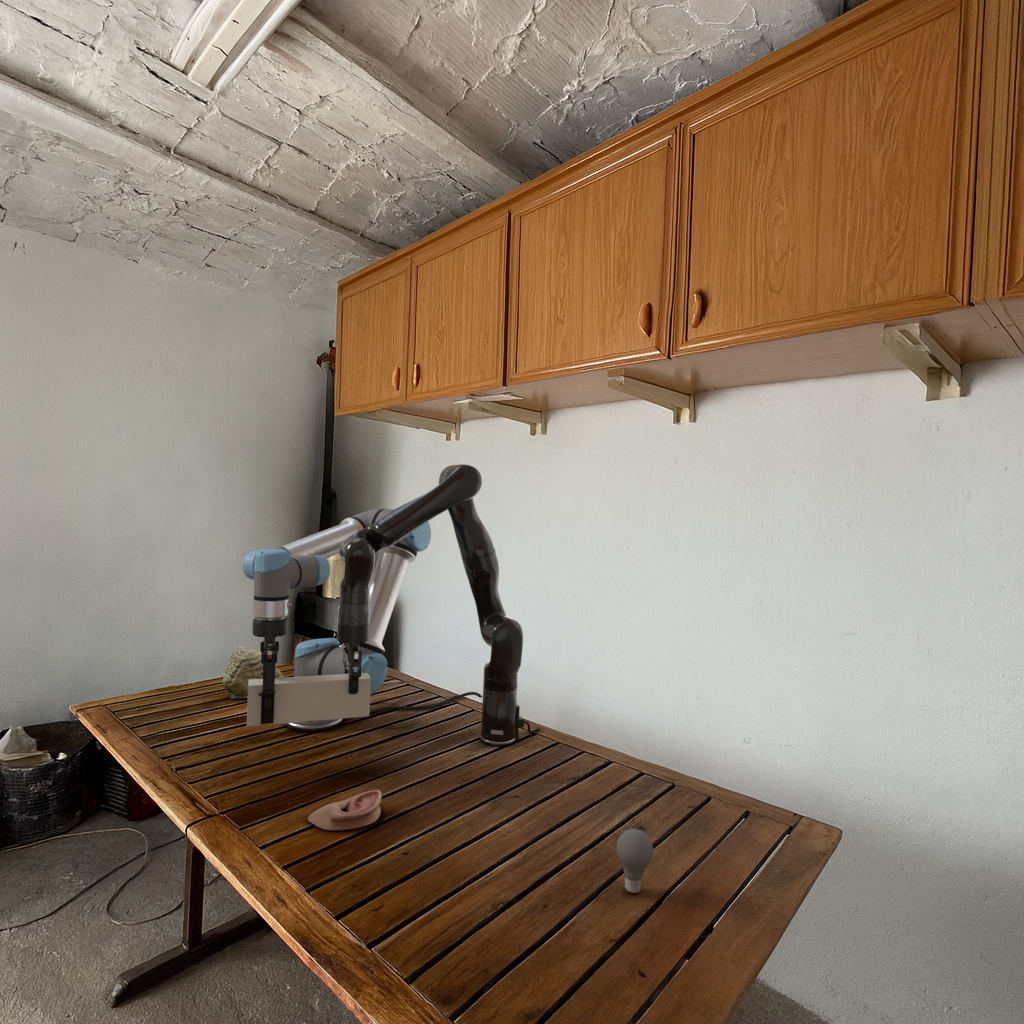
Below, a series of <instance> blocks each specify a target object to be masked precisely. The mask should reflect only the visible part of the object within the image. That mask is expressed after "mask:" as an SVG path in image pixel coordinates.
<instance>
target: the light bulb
mask: <svg viewBox="0 0 1024 1024" xmlns="http://www.w3.org/2000/svg"><path fill="white" fill-rule="evenodd" d="M615 849H616V854H617V857H618V859H619V861H620V863H621V865H622V867H623V873H624V874H623V875H624V876H625V878H624V888H625V890H627V891H628V892H630V893H634V894H635V893H639V892H640V891H641V889H642V887H641V886H642V879H643V877H644V875H645V871H646V868H647V867H648V866H649V864H650V863H651V861H652V859H653V855H654V847H653V843H652V841H651V838H649V836H648V835H647V834H646V833H645V832H643V831H642V830H641V829H636V828H629V829H627V830H625V831H623V832H622V833H621V834H620V835H619V837H618V839H617V841H616V847H615Z"/></svg>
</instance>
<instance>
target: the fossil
mask: <svg viewBox="0 0 1024 1024" xmlns="http://www.w3.org/2000/svg"><path fill="white" fill-rule="evenodd" d="M222 676H223V677H222V685H223V687H224V688H225V690H226V691H228V693H229V698H230V699H248V682H249V680H250V679H262V677H263V664H262V663H261V651H260V647H258V648H251V647H247V646H246V647H245V646H238V647H237V648H236V649H235V650H233V651H232V653H231V656H230V657H229V659H228V660H227V663H226V666H225V668H224V671H223V675H222ZM275 678H285V676H284V674H283V673H282V672H281V669H279V668H278V667H277V665H276V664H275Z"/></svg>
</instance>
